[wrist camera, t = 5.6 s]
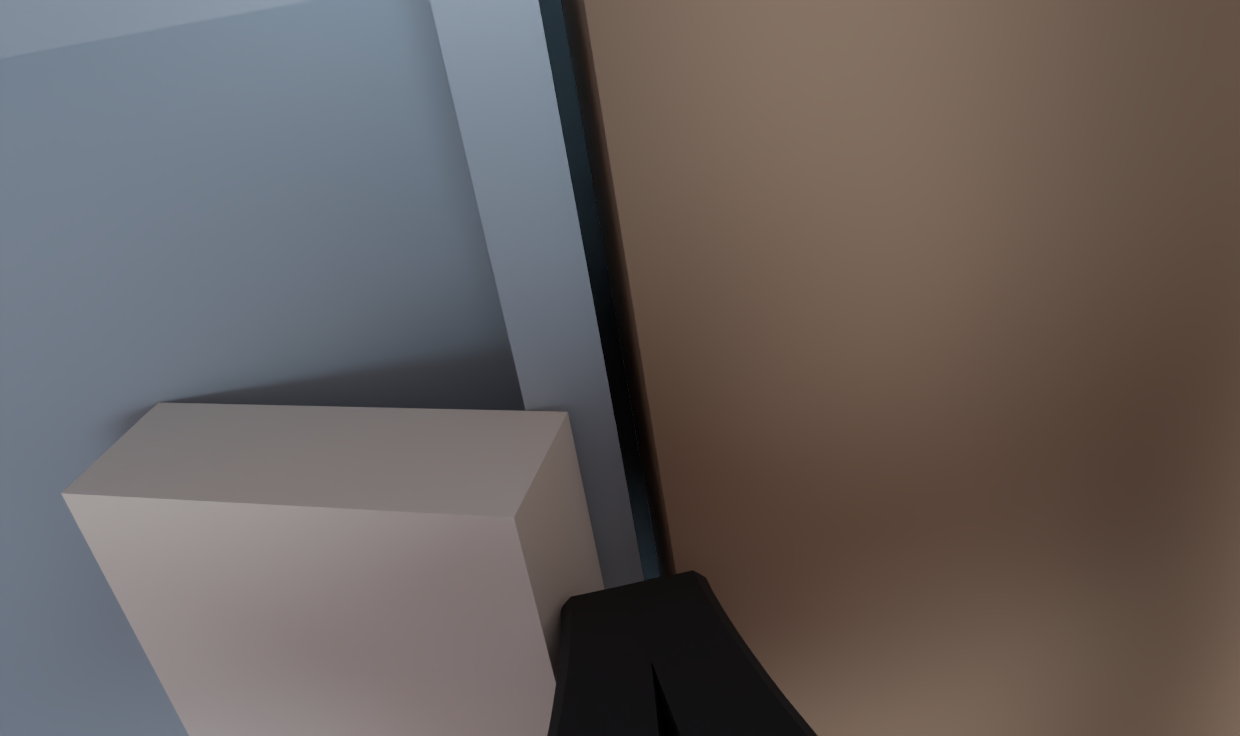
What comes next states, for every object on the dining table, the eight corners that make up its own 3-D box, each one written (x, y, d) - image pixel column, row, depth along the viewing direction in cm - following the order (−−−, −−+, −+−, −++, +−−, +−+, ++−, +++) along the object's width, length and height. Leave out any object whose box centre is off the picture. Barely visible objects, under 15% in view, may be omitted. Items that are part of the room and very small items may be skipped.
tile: (290, 700, 13) (225, 804, 12) (158, 402, 11) (60, 493, 10) (635, 740, 12) (601, 860, 11) (567, 411, 10) (513, 517, 9)
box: (31, 981, 16) (-19, 1129, 14) (-707, 39, 9) (-988, 109, 7) (683, 831, 16) (712, 956, 15) (496, -174, 9) (509, -158, 8)
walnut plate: (696, 784, 16) (735, 944, 14) (550, -60, 10) (583, -9, 8) (1266, 654, 16) (1391, 790, 14) (1471, -230, 10) (1745, -226, 8)
